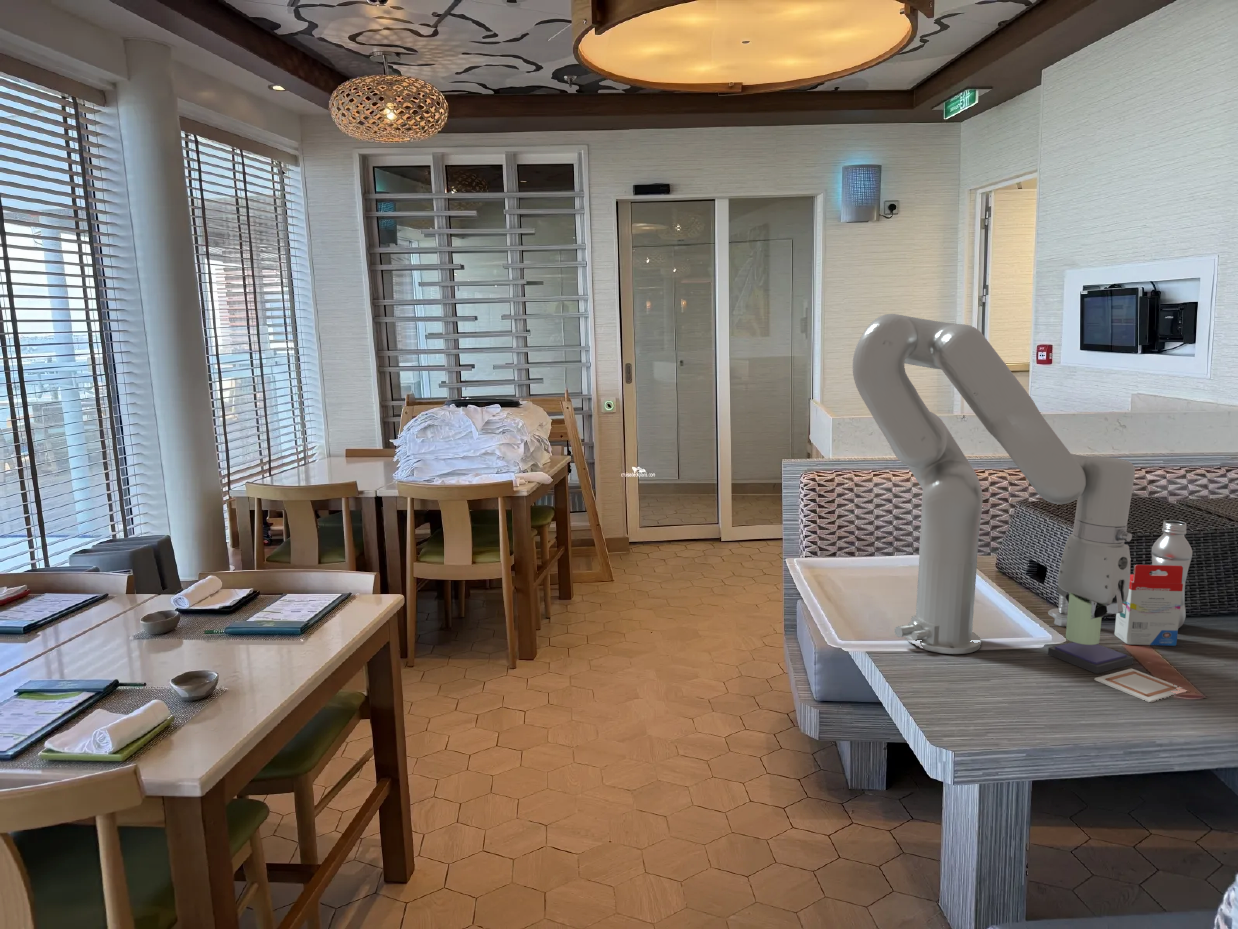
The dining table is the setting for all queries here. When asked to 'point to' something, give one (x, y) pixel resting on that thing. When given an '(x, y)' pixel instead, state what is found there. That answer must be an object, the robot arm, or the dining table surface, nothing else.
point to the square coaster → (1139, 684)
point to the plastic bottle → (1173, 554)
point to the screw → (1060, 612)
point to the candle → (1082, 622)
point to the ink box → (1151, 607)
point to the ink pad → (1090, 656)
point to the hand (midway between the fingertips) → (1083, 636)
